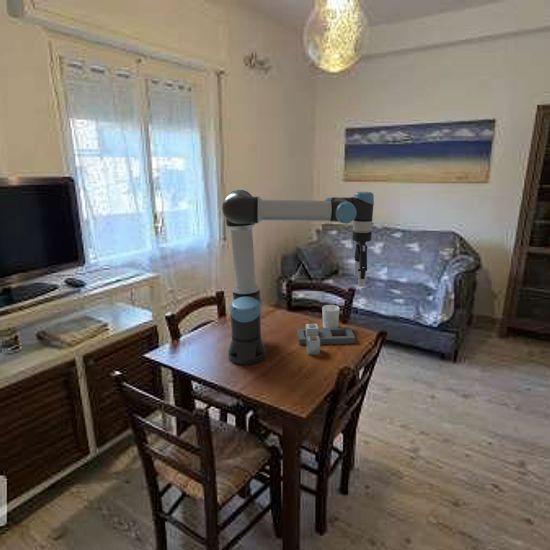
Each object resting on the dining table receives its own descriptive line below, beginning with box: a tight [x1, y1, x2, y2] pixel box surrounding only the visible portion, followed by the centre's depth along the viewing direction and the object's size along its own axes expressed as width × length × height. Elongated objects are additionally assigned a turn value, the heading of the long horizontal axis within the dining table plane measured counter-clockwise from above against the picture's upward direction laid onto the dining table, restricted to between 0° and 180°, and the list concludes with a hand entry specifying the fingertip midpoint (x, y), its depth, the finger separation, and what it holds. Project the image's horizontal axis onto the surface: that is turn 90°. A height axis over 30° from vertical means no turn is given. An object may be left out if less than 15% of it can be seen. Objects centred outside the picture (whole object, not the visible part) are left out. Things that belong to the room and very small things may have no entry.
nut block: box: [305, 335, 321, 356], centre depth 164 cm, size 5×5×6 cm
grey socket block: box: [296, 323, 356, 346], centre depth 176 cm, size 24×11×6 cm, turn 92°
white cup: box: [321, 304, 340, 328], centre depth 186 cm, size 8×8×10 cm
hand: (359, 281), depth 168 cm, fingers open, 13 cm apart
